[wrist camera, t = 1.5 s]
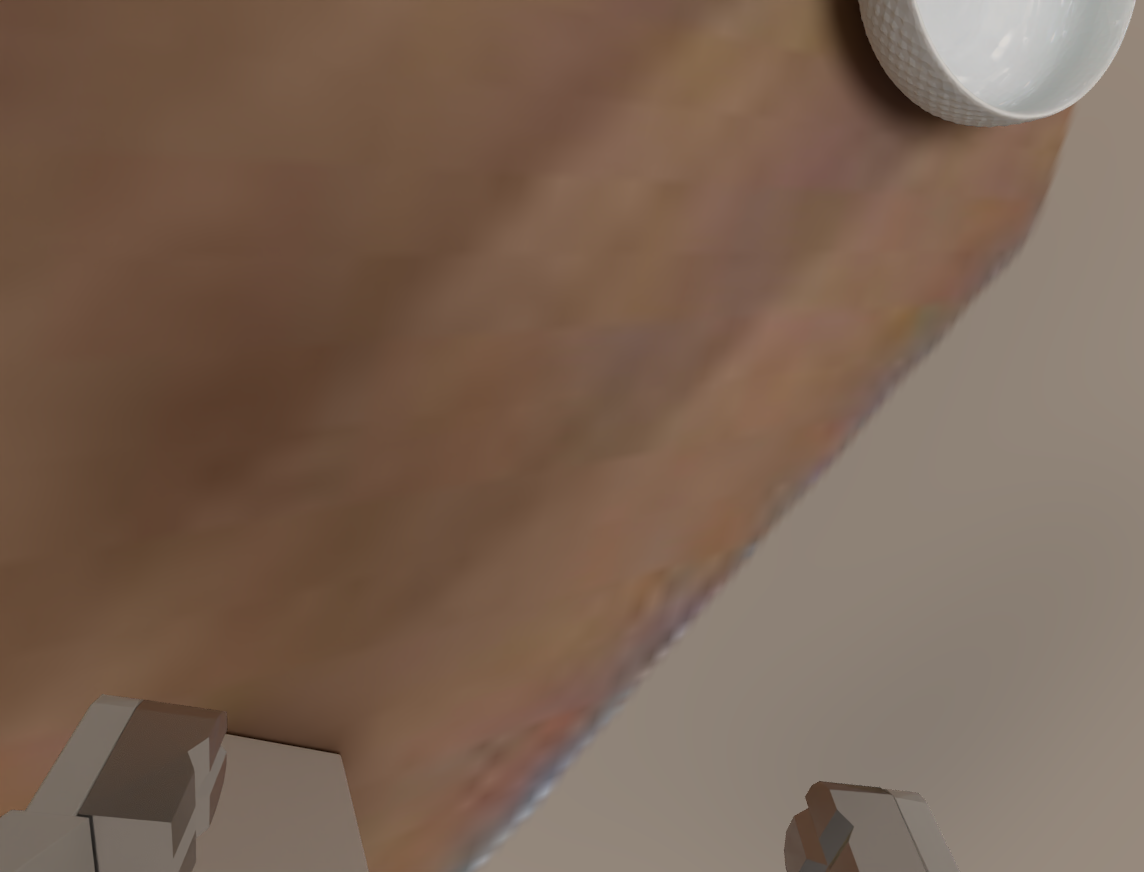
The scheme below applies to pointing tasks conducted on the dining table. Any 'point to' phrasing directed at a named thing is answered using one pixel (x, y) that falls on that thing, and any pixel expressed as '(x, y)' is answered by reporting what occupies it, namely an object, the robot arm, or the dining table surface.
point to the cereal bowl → (995, 53)
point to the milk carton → (281, 813)
